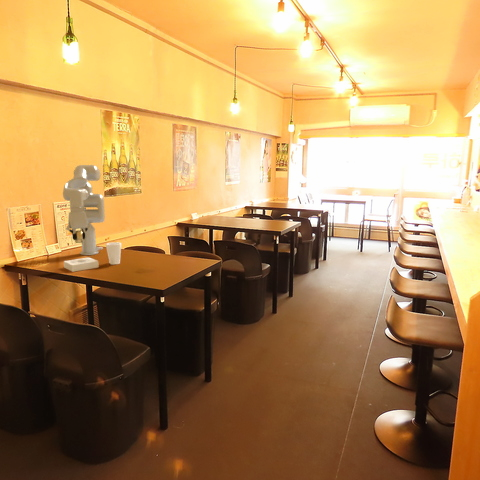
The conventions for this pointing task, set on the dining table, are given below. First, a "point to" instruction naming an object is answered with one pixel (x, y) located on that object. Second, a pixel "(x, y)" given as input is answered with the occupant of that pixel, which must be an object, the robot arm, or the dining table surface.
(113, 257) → the foam cup
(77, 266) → the plate
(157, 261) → the dining table surface
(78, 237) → the brass sleeve
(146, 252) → the dining table surface
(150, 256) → the dining table surface
